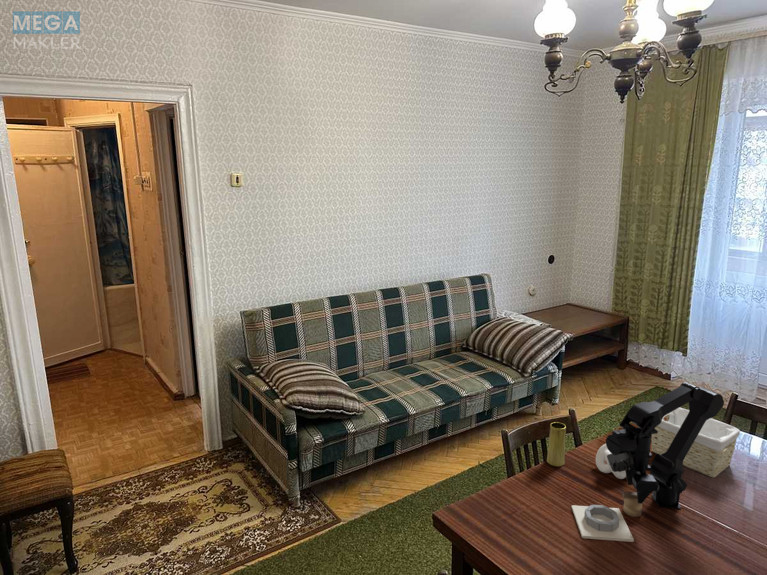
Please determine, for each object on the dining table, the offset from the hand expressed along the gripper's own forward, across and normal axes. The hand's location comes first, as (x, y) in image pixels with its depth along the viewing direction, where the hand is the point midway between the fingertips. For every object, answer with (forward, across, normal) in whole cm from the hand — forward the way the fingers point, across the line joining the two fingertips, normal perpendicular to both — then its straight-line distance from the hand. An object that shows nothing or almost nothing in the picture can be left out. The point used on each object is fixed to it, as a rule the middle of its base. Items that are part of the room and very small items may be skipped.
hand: (634, 493), depth 163 cm
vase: (+6, -26, -18) cm, 32 cm away
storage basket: (+7, -33, +30) cm, 45 cm away
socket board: (+6, +7, -11) cm, 15 cm away
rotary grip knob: (+6, 0, 0) cm, 6 cm away
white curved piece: (+6, -22, 0) cm, 23 cm away
